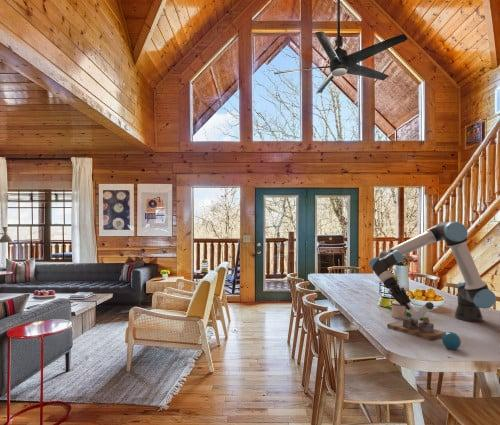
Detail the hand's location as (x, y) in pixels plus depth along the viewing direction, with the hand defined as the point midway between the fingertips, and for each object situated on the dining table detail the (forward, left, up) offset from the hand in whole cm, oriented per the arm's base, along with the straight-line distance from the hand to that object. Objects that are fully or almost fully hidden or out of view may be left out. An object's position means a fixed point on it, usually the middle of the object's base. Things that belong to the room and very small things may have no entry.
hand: (414, 314), depth 192 cm
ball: (-15, +23, -10) cm, 29 cm away
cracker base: (-1, 0, -10) cm, 10 cm away
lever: (+2, -1, -5) cm, 6 cm away
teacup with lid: (+8, -30, -10) cm, 33 cm away
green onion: (+4, -34, -10) cm, 36 cm away
